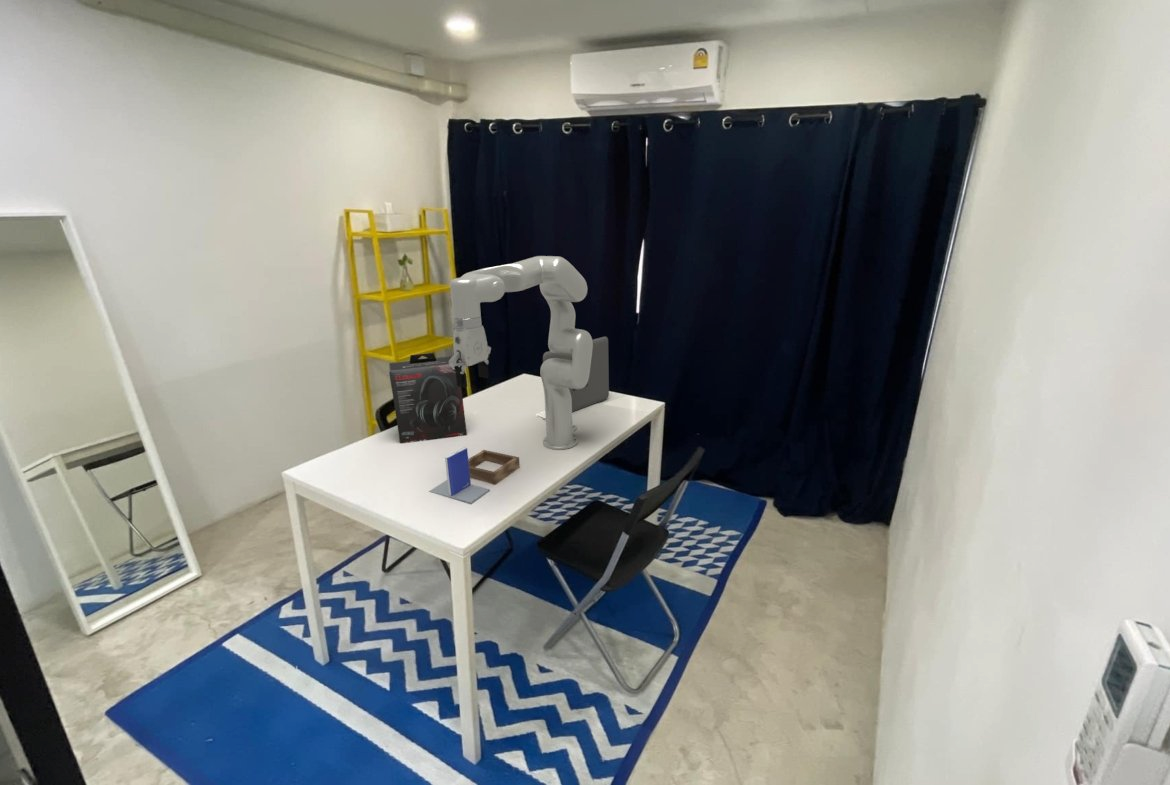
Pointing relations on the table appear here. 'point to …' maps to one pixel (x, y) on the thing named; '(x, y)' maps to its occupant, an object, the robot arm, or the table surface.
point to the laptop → (597, 380)
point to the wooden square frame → (498, 475)
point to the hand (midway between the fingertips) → (473, 381)
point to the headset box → (427, 399)
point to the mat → (461, 492)
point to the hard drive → (457, 471)
